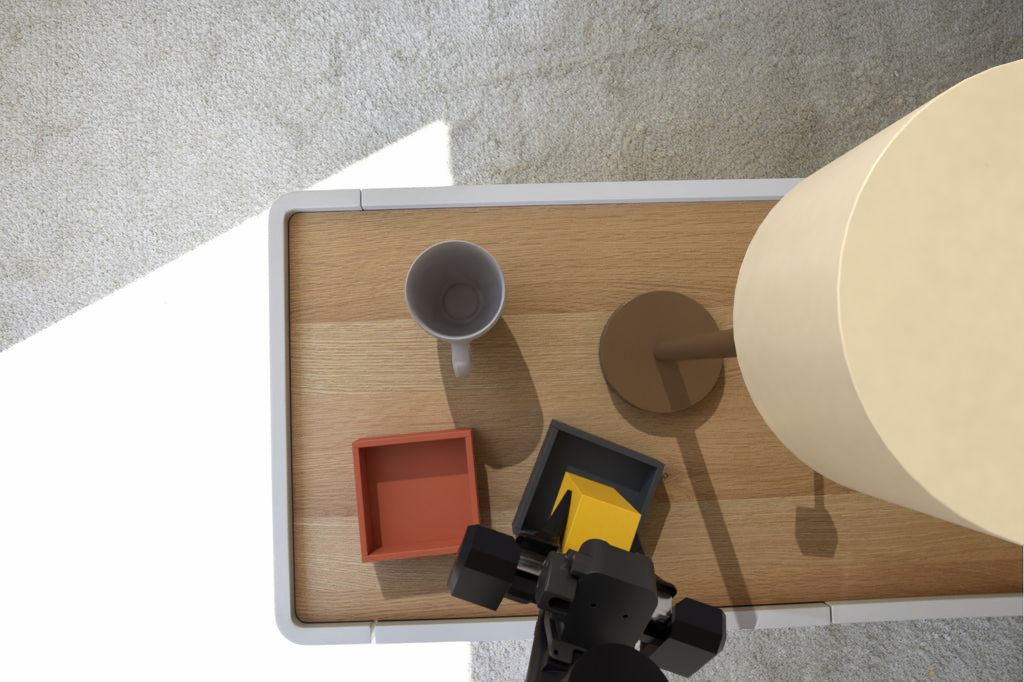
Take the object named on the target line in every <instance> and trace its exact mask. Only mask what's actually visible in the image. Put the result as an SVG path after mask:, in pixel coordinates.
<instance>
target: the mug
mask: <svg viewBox="0 0 1024 682" xmlns="http://www.w3.org/2000/svg"><path fill="white" fill-rule="evenodd" d="M507 287H508V286H507V282H506V277H505V273H504V271H503V269H502V267H501V266H500V264H499V262H498V261H497V260H496V258H495V257H494V256H493V255H492V254H491V253H490V252H489V251H488V250H486V249H485V248H483V247H482V246H480V245H478V244H476V243H474V242H471V241H467V240H461V239H460V240H458V239H457V240H456V239H453V240H451V239H450V240H445V241H441V242H438V243H435V244H433V245H431V246H429V247H428V248H426V249H425V250H424V251H422V252H421V253H420V254H419V255H418V256H417V257H416V258H415V259H414V260H413V262H412V264H411V265H410V268H409V269H408V271H407V275H406V278H405V283H404V299H405V304H406V307H407V309H408V312H409V314H410V316H411V317H412V320H413V321H414V322H415V324H416V325H417V326H418V327H419V328H420V329H421V330H422V331H424V332H425V333H426V334H428V335H429V336H431V337H433V338H435V339H438V340H440V341H443V342H448V343H450V349H451V364H452V368H453V371H454V375H455V377H457V378H459V379H467V378H469V377H471V375H472V369H473V355H472V351H471V342H472V341H474V340H476V339H478V338H480V337H482V336H484V335H485V334H487V333H488V332H489V331H490V330H492V329H493V327H494V326H495V325H496V324H497V323H498V321H499V320H500V318H501V316H502V314H503V312H504V309H505V306H506V302H507V293H508V289H507Z"/></svg>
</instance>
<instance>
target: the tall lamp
mask: <svg viewBox="0 0 1024 682" xmlns="http://www.w3.org/2000/svg"><path fill="white" fill-rule="evenodd" d="M736 280H737V281H736V285H735V290H734V298H733V310H732V324H733V325H732V326H733V328H728V329H722V330H721V329H720V328H719V326H718V324H717V322H716V320H715V319H714V317H713V316H712V314H711V313H710V312H709V311H708V310H707V309H706V307H704V306H703V305H702V304H701V303H700V302H698V301H697V300H696V299H693V298H692V297H690V296H688V295H685V294H683V293H681V292H676V291H673V290H653V291H647V292H644V293H641V294H638V295H636V296H634V297H632V298H630V299H629V300H626V301H625V302H623V303H622V304H620V306H618V307H617V308H616V309H615V311H613V312H612V313H611V315H610V316H609V318H608V320H607V321H606V323H605V325H604V326H603V329H602V331H601V335H600V339H599V344H598V359H599V365H600V369H601V372H602V375H603V377H604V379H605V381H606V383H607V384H608V386H609V388H610V389H611V390H612V391H613V392H614V394H616V396H618V397H619V398H620V399H621V400H623V401H624V402H625V403H626V404H629V405H630V406H632V407H635V408H636V409H639V410H642V411H646V412H649V413H650V412H651V413H656V414H671V413H677V412H681V411H682V410H686V409H689V408H690V407H693V406H694V405H697V404H698V403H699V402H700V401H702V400H703V399H704V398H706V396H707V395H708V394H709V393H710V392H711V390H712V389H713V387H714V386H715V384H716V383H717V381H718V379H719V377H720V374H721V371H722V368H723V363H724V359H733V358H737V362H738V366H739V369H740V373H741V375H742V379H743V382H744V385H745V388H746V389H747V391H748V393H749V396H750V398H751V400H752V403H753V404H754V406H755V407H756V409H757V411H758V413H759V414H760V416H761V418H762V419H763V421H764V422H765V424H766V425H767V427H768V428H769V430H771V432H772V433H773V434H774V435H775V436H776V437H777V439H778V440H779V441H780V442H781V444H783V446H785V447H786V448H787V449H788V450H789V451H790V452H791V453H792V454H793V455H794V456H795V457H796V458H797V459H798V460H799V461H801V462H803V464H805V465H806V466H808V467H810V468H811V469H812V470H814V471H815V472H816V473H818V474H819V475H821V476H823V477H825V478H827V479H829V480H831V481H832V482H834V483H836V484H838V485H840V486H843V487H845V488H848V489H851V490H853V491H856V492H859V493H861V494H864V495H867V496H870V497H873V498H876V499H879V500H883V501H885V502H889V503H892V504H894V505H897V506H900V507H904V508H906V509H910V510H912V511H915V512H918V513H919V512H920V513H922V514H924V515H928V516H930V517H933V518H938V519H940V520H943V521H946V522H949V523H952V524H954V525H958V526H960V527H964V528H966V529H970V530H973V531H976V532H979V533H983V534H985V535H988V536H991V537H993V538H996V539H999V540H1004V541H1007V542H1009V543H1012V544H1015V545H1019V546H1022V547H1024V58H1022V59H1017V60H1015V61H1011V62H1007V63H1003V64H999V65H997V66H992V67H990V68H988V69H985V70H984V71H983V70H982V71H980V72H979V73H976V74H974V75H972V76H970V77H968V78H965V79H963V80H961V81H960V82H958V83H955V85H953V86H951V87H950V88H948V89H946V90H945V91H943V92H942V93H940V94H938V95H937V96H935V97H933V98H932V99H930V100H929V101H926V102H925V103H924V104H922V105H921V106H919V107H917V108H916V109H914V110H912V111H910V112H909V113H908V114H906V115H904V116H903V117H901V118H900V119H898V120H896V121H895V122H892V124H890V125H888V126H887V127H885V128H883V129H882V130H880V131H879V132H877V133H876V134H874V135H873V136H871V137H869V138H868V139H866V140H864V141H863V142H861V143H859V144H858V145H857V146H855V147H853V148H851V149H850V150H848V151H847V152H845V153H844V154H842V155H840V156H839V157H837V158H836V159H834V160H832V161H831V162H829V163H828V164H826V165H824V166H823V167H821V168H820V169H818V170H816V171H815V172H813V173H812V174H810V175H808V176H807V177H806V178H804V179H803V180H801V181H800V182H799V183H797V184H796V185H795V186H794V187H793V188H791V189H790V190H789V191H787V193H786V194H785V195H783V197H782V198H781V199H780V200H779V201H778V202H777V203H776V204H775V205H774V206H773V207H772V208H771V210H770V211H769V213H768V214H767V215H766V216H765V218H764V219H763V220H762V222H761V223H760V225H759V226H758V228H757V230H756V232H755V234H754V236H753V237H752V239H751V241H750V243H749V245H748V247H747V250H746V253H745V255H744V258H743V260H742V263H741V266H740V269H739V273H738V276H737V279H736Z"/></svg>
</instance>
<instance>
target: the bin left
mask: <svg viewBox="0 0 1024 682" xmlns="http://www.w3.org/2000/svg"><path fill="white" fill-rule="evenodd" d="M351 452H352V462H353V474H354V486H355V498H356V509H357V510H356V511H357V519H358V521H357V523H358V532H359V545H360V555H361V558H360V559H361V563H362V564H364V563H374V562H383V561H394V560H403V559H404V560H405V559H411V558H412V559H413V558H422V557H423V558H424V557H430V556H442V555H450V554H457V552H458V549H459V547H460V544H461V542H462V539H463V537H464V534H465V532H466V529H467V527H468V526H469V525H475V524H479V525H481V526H482V518H481V517H482V516H481V507H480V498H479V497H480V496H479V495H480V494H479V485H478V484H479V483H478V475H477V464H476V463H477V462H476V454H475V442H474V432H473V427H472V426H469V427H459V428H451V429H449V428H448V429H438V430H431V431H429V430H428V431H420V432H410V433H399V434H389V435H381V436H380V435H379V436H369V437H359V438H358V439H356V440H354V441H352V442H351Z"/></svg>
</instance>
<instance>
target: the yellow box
mask: <svg viewBox="0 0 1024 682" xmlns="http://www.w3.org/2000/svg"><path fill="white" fill-rule="evenodd" d="M568 489H569V490H572V497H571V504H570V508H569V511H568V514H567V517H566V520H565V523H564V526H563V529H562V532H561V536H560V539H559V547H560V550H561V552H560V553H562V554H564V553H566V552H567V551H568V549H572V550H575V551H579V549H580V547H581V545H582V544H583V543H584V542H585V541H586V540H589V539H601V540H604V541H606V542H608V543H609V544H610V545H612V546H615V547H618V548H621V549H624V550H627V551H630V548H631V545H632V542H633V539H634V536H635V533H636V530H637V527H638V524H639V521H640V518H641V514H640V513H639V512H638V511H636V510H635V509H634V508H633V507H632V506H631V505H630V504H629V503H628V502H627V501H626V500H625V499H624V498H623V497H622V496H621V495H620V494H619V493H618V492H617V491H616V490H615V489H614V488H611V487H608V486H606V485H603V484H600V483H597V482H594V481H591V480H588V479H586V478H583V477H580V476H577V475H574V474H571V473H568V472H566V473H565V476H564V479H563V482H562V484H561V487H560V490H559V493H558V496H557V499H556V502H555V505H554V508H553V511H552V514H553V512H554V510H555V509H556V507H557V506H558V504H559V502H560V501H561V499H562V498H563V496H564V494H565V493H566V491H567V490H568ZM552 514H551V515H552Z"/></svg>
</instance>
